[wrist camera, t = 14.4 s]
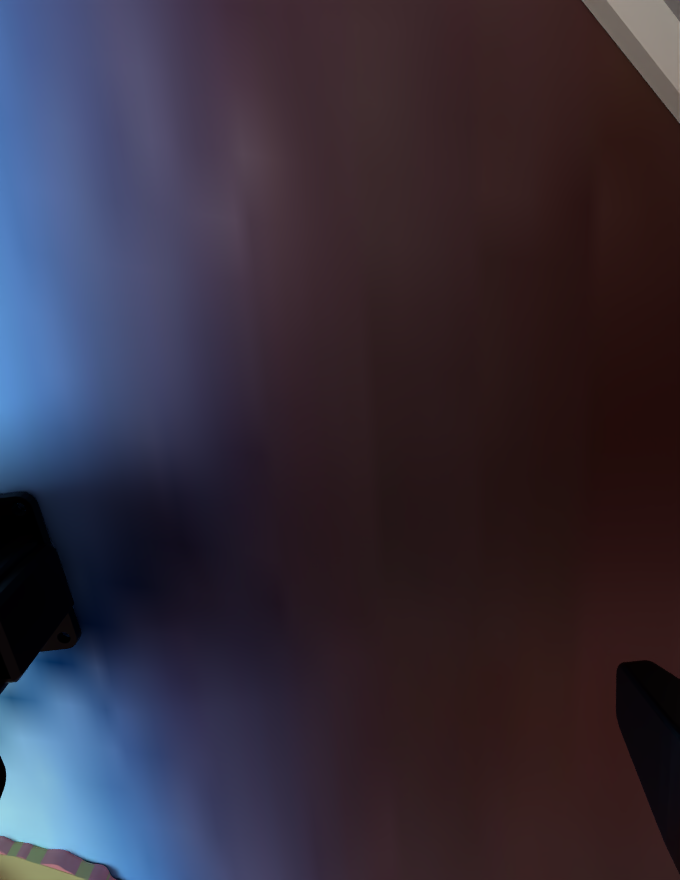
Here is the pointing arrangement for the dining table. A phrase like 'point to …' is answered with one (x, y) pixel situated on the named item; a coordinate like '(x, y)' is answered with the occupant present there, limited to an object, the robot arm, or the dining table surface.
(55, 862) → the candy landscape model
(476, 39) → the dining table surface
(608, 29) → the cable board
